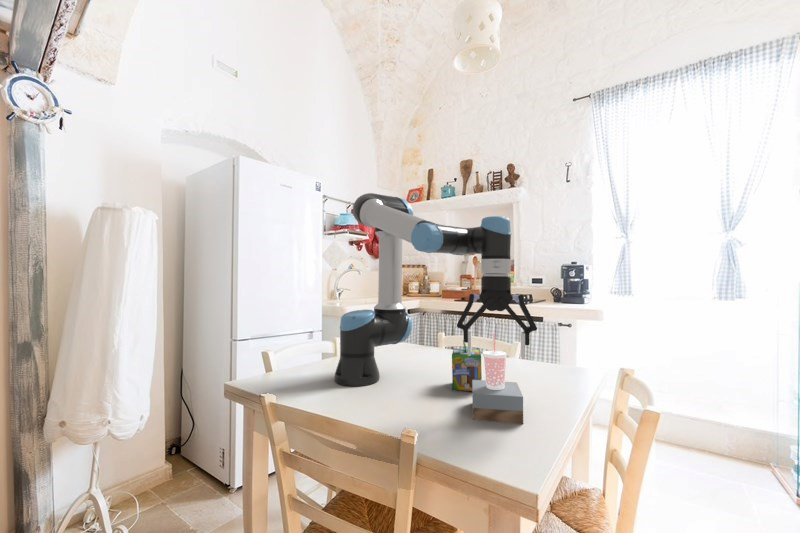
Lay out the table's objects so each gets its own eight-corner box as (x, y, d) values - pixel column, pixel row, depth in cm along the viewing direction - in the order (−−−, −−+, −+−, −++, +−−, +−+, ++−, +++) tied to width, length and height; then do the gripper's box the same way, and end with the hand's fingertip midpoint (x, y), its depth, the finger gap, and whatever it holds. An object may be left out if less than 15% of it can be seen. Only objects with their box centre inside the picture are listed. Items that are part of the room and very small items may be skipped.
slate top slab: (472, 407, 89) (472, 393, 89) (472, 392, 101) (472, 379, 101) (523, 411, 87) (523, 396, 87) (516, 395, 98) (516, 382, 99)
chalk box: (482, 392, 109) (481, 344, 110) (451, 390, 111) (451, 343, 112) (481, 384, 118) (481, 339, 119) (453, 382, 120) (453, 338, 121)
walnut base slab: (472, 421, 89) (472, 407, 89) (473, 404, 101) (473, 392, 101) (523, 426, 86) (523, 411, 86) (518, 408, 98) (518, 395, 98)
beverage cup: (490, 382, 98) (489, 331, 99) (511, 386, 94) (510, 333, 95) (478, 387, 94) (478, 333, 94) (500, 392, 90) (499, 336, 90)
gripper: (447, 275, 93) (446, 356, 93) (548, 276, 88) (549, 362, 88) (449, 275, 101) (449, 350, 100) (543, 275, 96) (543, 355, 95)
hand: (495, 356), depth 94 cm, fingers open, 13 cm apart
